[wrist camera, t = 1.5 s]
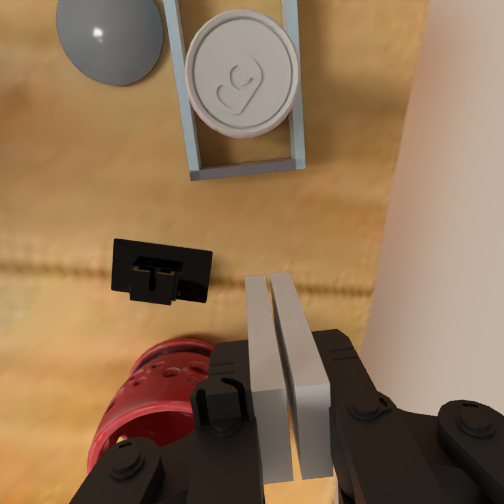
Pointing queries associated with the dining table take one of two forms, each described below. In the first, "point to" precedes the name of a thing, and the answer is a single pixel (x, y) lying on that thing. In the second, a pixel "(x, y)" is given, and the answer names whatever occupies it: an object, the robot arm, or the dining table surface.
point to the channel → (189, 118)
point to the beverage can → (242, 73)
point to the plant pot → (155, 397)
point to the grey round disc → (111, 38)
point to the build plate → (160, 272)
